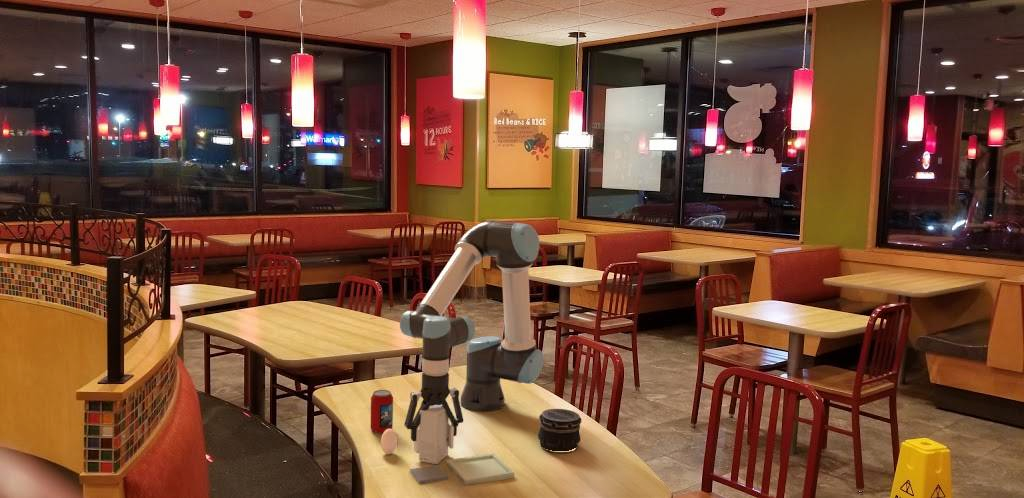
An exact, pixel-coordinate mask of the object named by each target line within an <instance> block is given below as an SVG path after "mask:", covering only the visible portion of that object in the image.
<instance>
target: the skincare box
mask: <svg viewBox="0 0 1024 498" xmlns="http://www.w3.org/2000/svg"><path fill="white" fill-rule="evenodd" d="M448 406H449V404H448ZM449 407H450V406H449ZM420 414H421V423H420V425H419V427H418V429H419V430H420V444H419V453H418V461H419V462H422V463H428V464H433V465H439V463H440V462H441V461H442V460H443V459H444V458H445V457H447V456H448V455H449V446H448V424H449V418H448V415H447V412H446V410H445V408H444V407H443V406H442V405H434V406H430V407H429V409H427V410H424V411H422V410H420Z"/></svg>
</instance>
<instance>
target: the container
mask: <svg viewBox="0 0 1024 498" xmlns="http://www.w3.org/2000/svg"><path fill="white" fill-rule="evenodd" d="M538 420H539V431H538V434H537V437H538V440H539V446H540V445H541V446H540V448H541V447H543V448H545V449H548V450H552V451H569V450H572V449H574V448H576V447H577V448H578V444H579V443H580V441H581V432H580V429H581V423H582V418H581V416H580V414H579V413H577V412H576V411H573V410H570V409H565V408H549V409H548V408H547V409H545V410H543V411H542V412H541V414H539V417H538Z"/></svg>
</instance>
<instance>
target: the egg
mask: <svg viewBox="0 0 1024 498" xmlns="http://www.w3.org/2000/svg"><path fill="white" fill-rule="evenodd" d="M380 447H381V448H380V449H381V451H383V452H384V454H386V455H392V454H393V453H394V452H395V451H396V449H397V447H398V438H397V434H396V432H395V431H394V429H393V428H392V429H387V430H385V432H384V433H382V435H381V438H380Z"/></svg>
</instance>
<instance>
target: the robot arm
mask: <svg viewBox="0 0 1024 498" xmlns="http://www.w3.org/2000/svg"><path fill="white" fill-rule="evenodd" d="M539 250H540V238H539V233H538V232H537V230H536V229H535V228H534V226H532V225H530V224H526V223H522V222H515V221H513V222H512V221H497V220H485V221H482V222H480V223H477V224H476V225H474V226H473V227H471V228H470V229H469V230H467V231H466V232H465V233H463V235H462V236H461V237H460V238H459V240H458V241H457V242H456V243H455V246H454V253H453V254H452V256H451V257H450V259H449V260H448V261H447V264H446V265H445V266H444V267H443V269H442V270H441V272H440V273H439V275H438V276H437V278H436V279H435V281H434V283H433V284H432V285H431V287H430V288H429V290H428V291H427V293H426V294H425V296H424V297H423V298H422V301H421V302H420V303H419V304H418V306H417V307H416V309H415V311H414V310H407V311H406V312H405V311H404V313H403V314H402V315H401V317H400V321H399V329H400V330H401V332H402V334H403V335H404V336H407V337H411V338H414V339H417V338H418V339H421V340H422V357H421V358H422V359H421V362H422V363H421V366H422V367H421V372H422V374H421V389H420V391H419V392H413V391H412V392H410V402H409V405H408V410H407V414H406V416H405V417H406V418H405V421H404V426H405V428H406V429H407V430H410V440H411V441H412V442H413V451H414V452H415V453H416V454H419V444H420V430H419V425H420V423H421V414H420V410H422V411H424V410H427V409H429V407H430V406H434V405H442V406H443V407H444V408H445V410H446V412H447V415H448V421H450V423H449V422H448V449H449V448H450V450H452V449H454V437H456V436H457V434H458V433H457V430H458V426H459V424H462V423H464V416H463V413H462V407H463V408H466V409H468V410H471V411H477V412H478V411H480V412H484V411H485V412H486V411H487V412H488V411H496V410H500V409H502V408H503V407H504V406H505V399H506V398H505V395H504V392H503V389H502V388H503V387H502V384H501V380H505V381H506V380H507V381H510V382H515V383H518V384H527V385H528V384H533V383H534V382H535V381H536V380H537V379H538V378H539V376H540V374H541V372H542V369H543V365H544V354H543V352H542V350H540V349H538V348H537V343H536V342H537V341H536V339H534V338H533V337H532V329H531V328H532V327H531V305H530V301H531V300H530V299H531V298H530V279H529V274H530V273H529V270H530V267H532V266H533V264H534V261H535V260H536V259H537V258H538V255H539ZM487 257H489V258H490V257H492V258H495V259H496V267H498V268H499V269H500V270H501V282H502V285H501V286H502V302H503V303H502V304H503V323H504V339H502V338H501V337H499V336H491V335H490V336H481V337H476V338H474V337H475V334H476V325H475V323H474V322H473V320H472V319H471V318H469V317H468V316H464V315H463V316H457V317H449V316H443V315H444V313H445V311H446V310H447V308H448V306H449V305H450V304H451V302H452V301H453V300H454V298H455V296H456V294H457V293H458V292H459V290H460V288H461V287H462V285H463V284H464V282H465V281H466V279H467V277H468V276H469V274H470V273H471V271H472V269H473V268H474V267H475V265H479V264H480V263H481V261H482V260H483V259H484V258H487ZM465 343H467V348H466V374H465V375H466V377H465V379H466V380H465V384H464V387H463V390H462V392H461V395H460V391H459V390H458V389H457V388H456V387H454V388H450V387H449V386H450V384H449V383H450V379H449V378H450V375H449V374H450V373H449V371H450V349H451V348H452V347H453V348H454V347H455V346H459V345H463V344H465ZM449 396H451V400H452V404H453V409H454V413H455V416H454V413H453V412H452V410H451V408H450V406H448V405H449V404H448V402H447V400H446V399H447V398H448V397H449ZM420 398H421V399H422V401H421V403H420V406H419V409H418V410H417V407H418V401H420ZM459 398H460V400H459ZM461 406H462V407H461ZM501 407H502V408H501ZM416 410H417V412H416Z"/></svg>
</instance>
